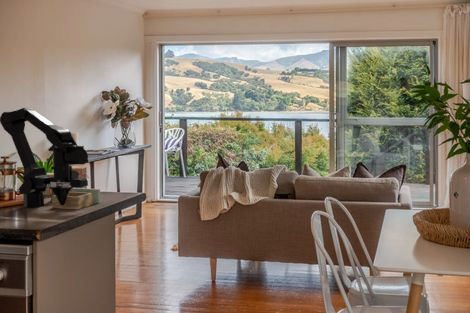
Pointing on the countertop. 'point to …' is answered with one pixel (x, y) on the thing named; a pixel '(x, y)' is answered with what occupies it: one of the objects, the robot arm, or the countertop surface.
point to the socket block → (74, 200)
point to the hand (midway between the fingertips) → (62, 205)
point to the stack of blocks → (81, 170)
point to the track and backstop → (85, 190)
